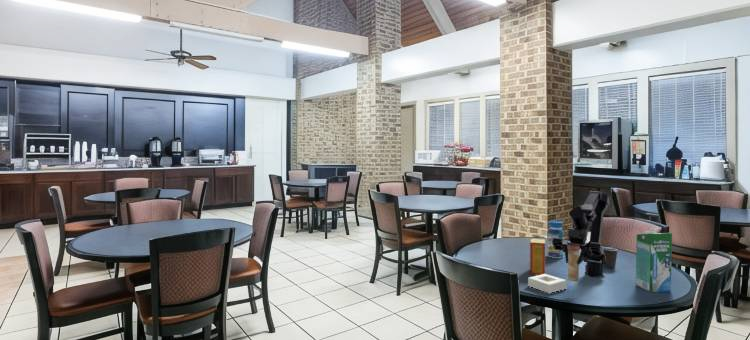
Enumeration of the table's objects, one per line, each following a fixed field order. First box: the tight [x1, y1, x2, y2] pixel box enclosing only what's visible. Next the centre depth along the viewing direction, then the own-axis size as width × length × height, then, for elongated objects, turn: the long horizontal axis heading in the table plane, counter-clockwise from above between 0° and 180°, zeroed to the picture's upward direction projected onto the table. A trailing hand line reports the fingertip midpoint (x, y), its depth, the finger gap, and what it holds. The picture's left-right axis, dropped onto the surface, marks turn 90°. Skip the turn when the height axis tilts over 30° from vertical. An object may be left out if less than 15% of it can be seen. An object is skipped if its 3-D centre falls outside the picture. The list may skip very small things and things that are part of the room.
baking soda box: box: [529, 238, 546, 275], centre depth 200 cm, size 10×6×16 cm
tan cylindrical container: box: [567, 245, 581, 282], centre depth 168 cm, size 5×5×14 cm
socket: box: [527, 273, 567, 294], centre depth 177 cm, size 11×11×4 cm
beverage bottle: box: [547, 220, 565, 259], centre depth 228 cm, size 8×8×20 cm
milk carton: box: [635, 230, 673, 293], centre depth 175 cm, size 9×9×25 cm
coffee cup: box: [602, 246, 619, 269], centre depth 207 cm, size 8×8×10 cm
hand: (572, 263), depth 167 cm, fingers closed on tan cylindrical container, 4 cm apart
